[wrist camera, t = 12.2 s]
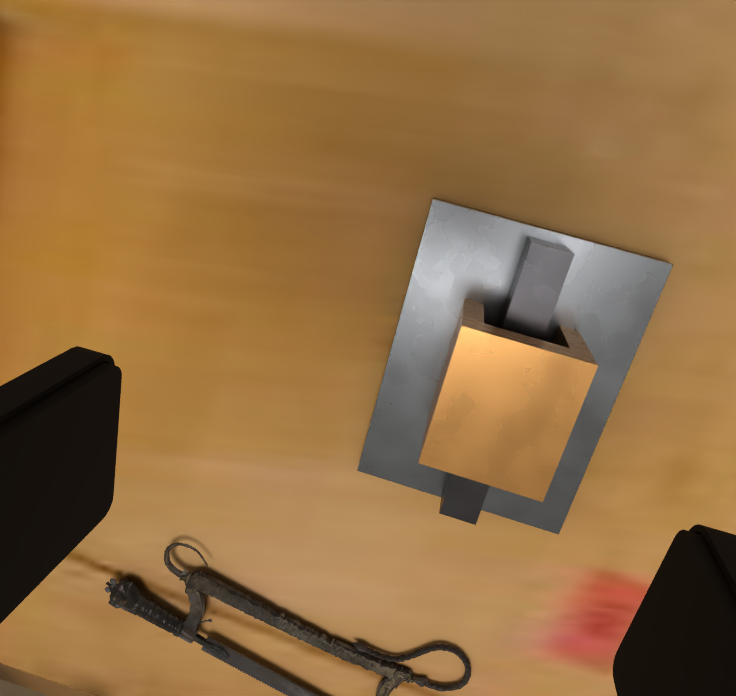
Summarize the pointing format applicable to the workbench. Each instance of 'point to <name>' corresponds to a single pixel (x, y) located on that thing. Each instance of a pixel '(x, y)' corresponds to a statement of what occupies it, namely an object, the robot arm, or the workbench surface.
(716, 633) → the robot arm
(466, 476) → the tan wooden block
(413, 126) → the workbench surface
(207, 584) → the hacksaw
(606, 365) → the rail
